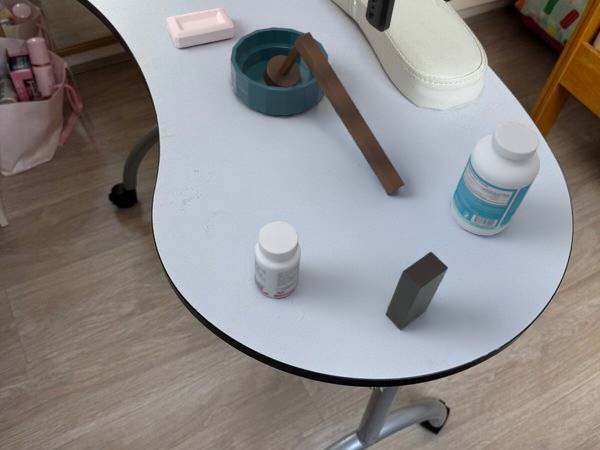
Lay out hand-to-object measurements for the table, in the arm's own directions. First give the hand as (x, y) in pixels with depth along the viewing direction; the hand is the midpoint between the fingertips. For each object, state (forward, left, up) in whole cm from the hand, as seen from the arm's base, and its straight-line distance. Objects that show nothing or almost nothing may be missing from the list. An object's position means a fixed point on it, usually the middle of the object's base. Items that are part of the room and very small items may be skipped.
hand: (411, 11), depth 54 cm
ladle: (+10, -7, -28) cm, 30 cm away
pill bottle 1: (+4, +18, -25) cm, 31 cm away
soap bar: (+34, -16, -25) cm, 45 cm away
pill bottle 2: (-14, -2, -25) cm, 29 cm away
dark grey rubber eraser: (-10, +15, -25) cm, 31 cm away
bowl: (+18, -11, -25) cm, 33 cm away
